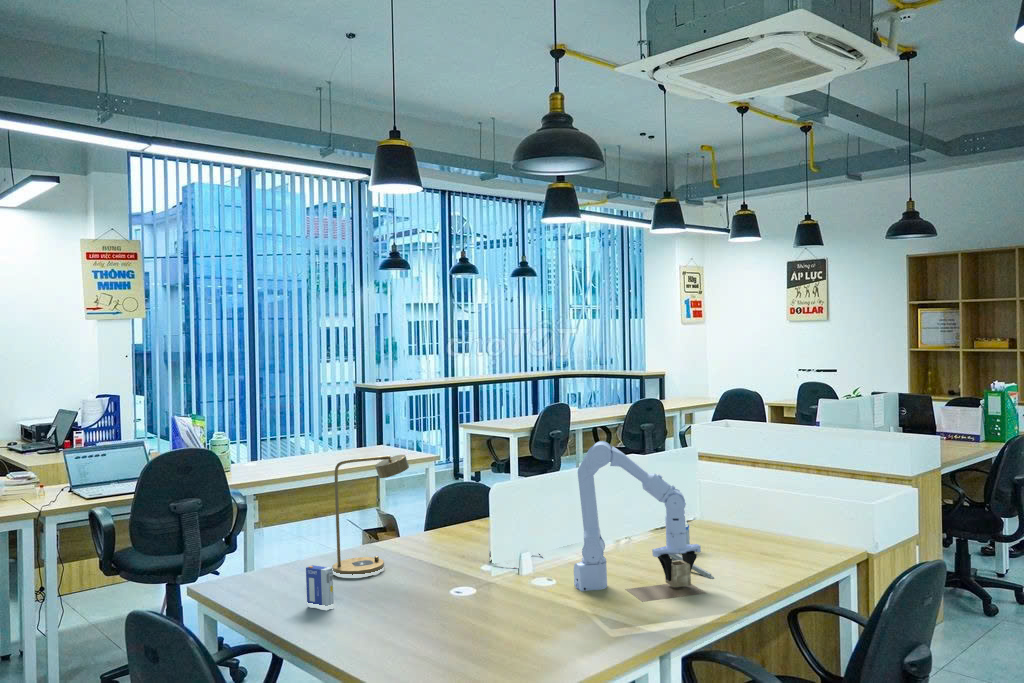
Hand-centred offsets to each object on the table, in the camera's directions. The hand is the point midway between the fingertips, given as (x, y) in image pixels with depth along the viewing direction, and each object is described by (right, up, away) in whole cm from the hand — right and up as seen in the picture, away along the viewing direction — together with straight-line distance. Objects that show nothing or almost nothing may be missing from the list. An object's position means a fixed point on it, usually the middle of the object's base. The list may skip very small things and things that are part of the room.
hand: (677, 578), depth 225 cm
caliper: (+8, -4, +21) cm, 23 cm away
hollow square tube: (0, -1, 0) cm, 1 cm away
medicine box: (+10, -5, +47) cm, 48 cm away
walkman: (-104, -8, -2) cm, 104 cm away
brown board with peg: (-4, -4, -3) cm, 7 cm away
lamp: (-95, -8, +36) cm, 102 cm away
